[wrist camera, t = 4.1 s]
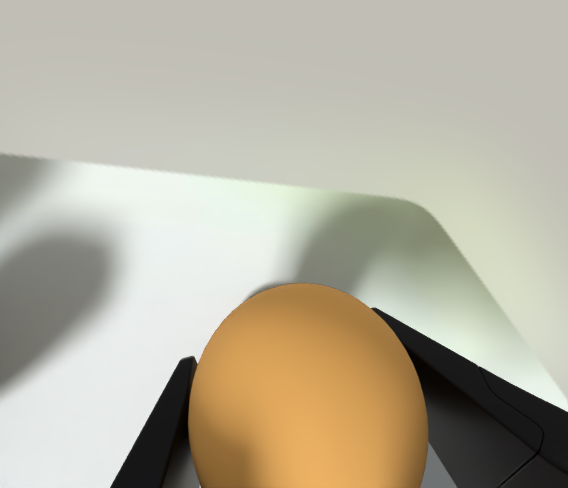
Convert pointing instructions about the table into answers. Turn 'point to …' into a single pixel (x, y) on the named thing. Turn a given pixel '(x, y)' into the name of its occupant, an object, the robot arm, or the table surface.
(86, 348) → the table surface
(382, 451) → the rubber ball
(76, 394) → the table surface
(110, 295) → the table surface
